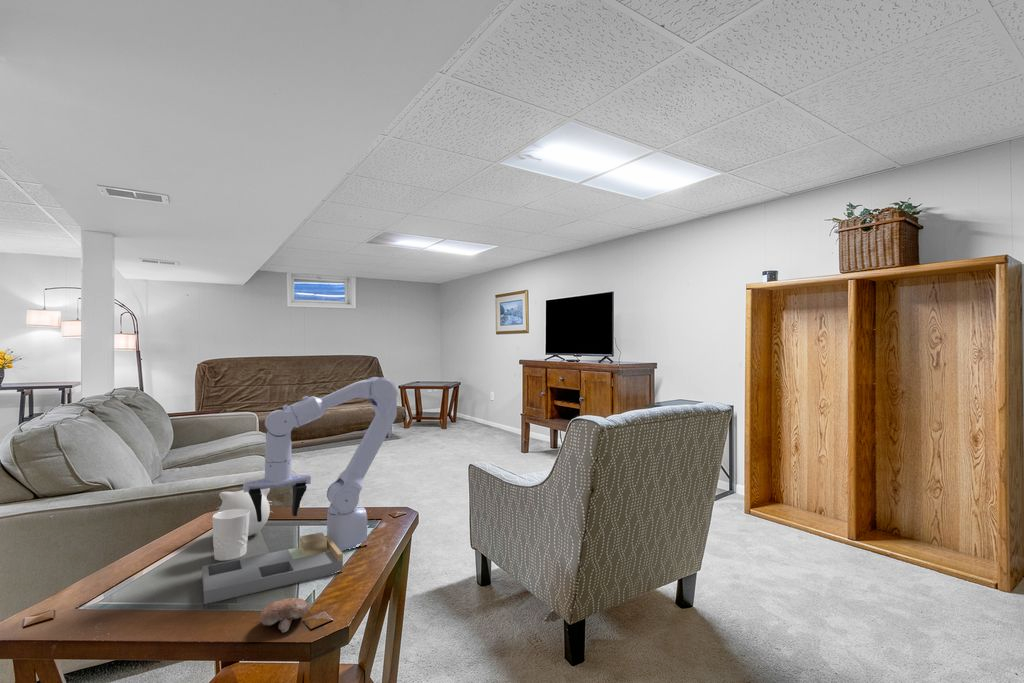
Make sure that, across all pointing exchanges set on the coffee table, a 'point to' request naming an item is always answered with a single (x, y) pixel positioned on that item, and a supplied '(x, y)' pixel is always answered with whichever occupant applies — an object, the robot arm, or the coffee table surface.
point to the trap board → (267, 572)
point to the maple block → (313, 544)
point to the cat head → (247, 507)
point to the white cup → (230, 534)
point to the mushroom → (283, 612)
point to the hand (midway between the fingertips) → (277, 517)
